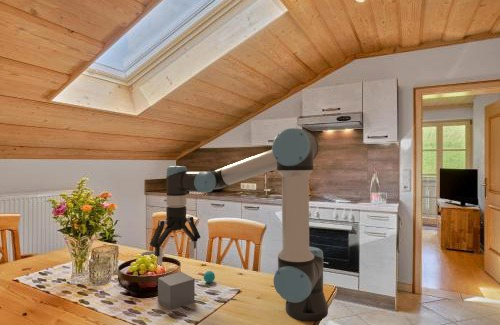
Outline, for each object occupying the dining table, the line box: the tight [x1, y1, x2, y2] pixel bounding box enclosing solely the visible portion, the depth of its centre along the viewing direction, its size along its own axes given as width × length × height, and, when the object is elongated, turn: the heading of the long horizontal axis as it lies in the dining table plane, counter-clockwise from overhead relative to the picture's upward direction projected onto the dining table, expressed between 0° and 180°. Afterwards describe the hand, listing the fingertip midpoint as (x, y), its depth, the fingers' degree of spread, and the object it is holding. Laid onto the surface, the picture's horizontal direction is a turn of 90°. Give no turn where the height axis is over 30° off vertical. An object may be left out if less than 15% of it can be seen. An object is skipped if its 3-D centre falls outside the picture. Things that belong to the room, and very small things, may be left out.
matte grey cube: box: [157, 271, 196, 311], centre depth 120 cm, size 10×10×9 cm
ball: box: [203, 270, 216, 284], centre depth 139 cm, size 5×5×5 cm
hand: (176, 260), depth 121 cm, fingers open, 13 cm apart
